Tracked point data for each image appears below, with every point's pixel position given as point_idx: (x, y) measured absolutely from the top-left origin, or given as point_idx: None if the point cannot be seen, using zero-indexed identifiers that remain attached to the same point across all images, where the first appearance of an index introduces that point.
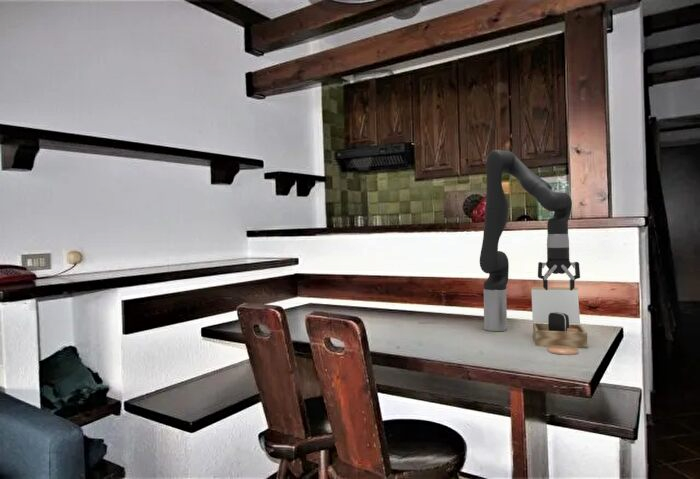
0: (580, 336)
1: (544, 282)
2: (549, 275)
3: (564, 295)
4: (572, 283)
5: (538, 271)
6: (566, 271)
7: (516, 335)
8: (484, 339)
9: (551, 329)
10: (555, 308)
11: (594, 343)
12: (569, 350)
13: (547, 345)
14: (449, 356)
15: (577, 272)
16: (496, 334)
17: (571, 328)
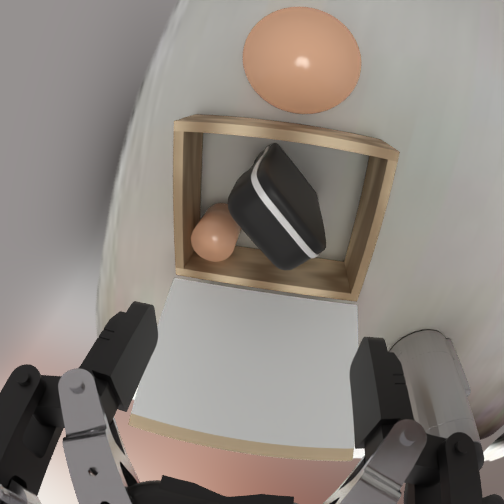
0: (206, 120)
1: (401, 402)
2: (367, 472)
3: (198, 403)
4: (107, 345)
5: (478, 500)
6: (106, 486)
7: (393, 290)
8: (500, 237)
9: (312, 202)
10: (256, 349)
11: (158, 188)
12: (280, 36)
13: (341, 131)
14: None
15: (6, 420)
16: (444, 299)
17: (214, 252)
